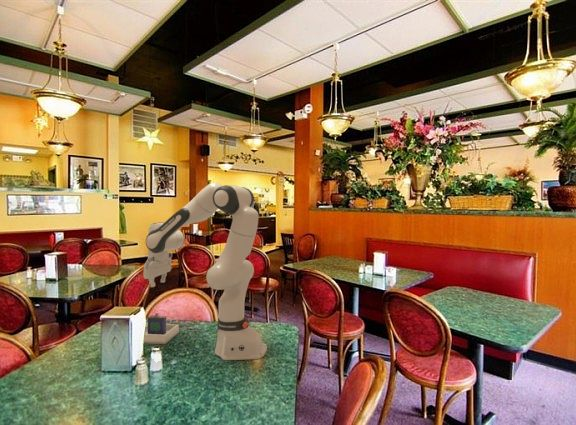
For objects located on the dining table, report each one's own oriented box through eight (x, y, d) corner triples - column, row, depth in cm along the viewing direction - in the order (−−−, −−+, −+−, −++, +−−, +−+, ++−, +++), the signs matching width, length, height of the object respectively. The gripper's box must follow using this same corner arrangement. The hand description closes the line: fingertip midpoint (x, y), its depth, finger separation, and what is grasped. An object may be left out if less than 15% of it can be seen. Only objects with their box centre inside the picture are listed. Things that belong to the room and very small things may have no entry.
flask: (167, 334, 153) (167, 312, 153) (164, 337, 150) (164, 314, 150) (149, 333, 154) (149, 311, 154) (145, 336, 151) (145, 313, 151)
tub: (178, 332, 158) (178, 324, 158) (165, 344, 144) (165, 335, 144) (148, 331, 160) (148, 323, 160) (132, 342, 146) (132, 334, 146)
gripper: (152, 259, 142) (152, 289, 142) (173, 253, 162) (173, 280, 162) (139, 258, 143) (139, 289, 143) (162, 253, 163) (162, 279, 163)
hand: (158, 284), depth 153 cm, fingers open, 8 cm apart
